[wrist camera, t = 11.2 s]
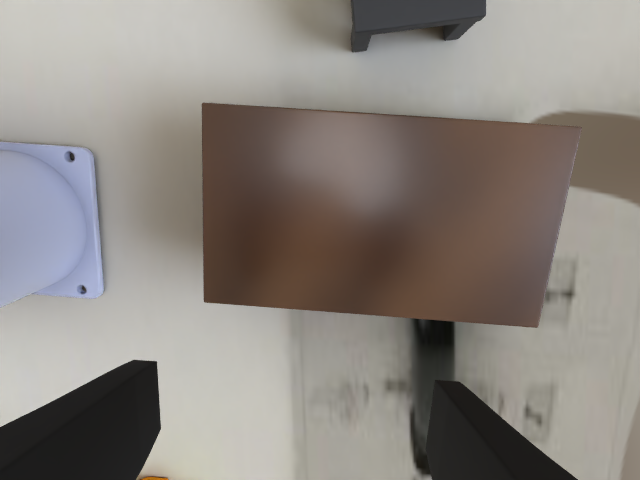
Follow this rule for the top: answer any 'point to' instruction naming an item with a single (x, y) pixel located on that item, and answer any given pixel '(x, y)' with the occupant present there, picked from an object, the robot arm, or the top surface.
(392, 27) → the chair
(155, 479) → the toy figure
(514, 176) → the brown toy table
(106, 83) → the top surface
